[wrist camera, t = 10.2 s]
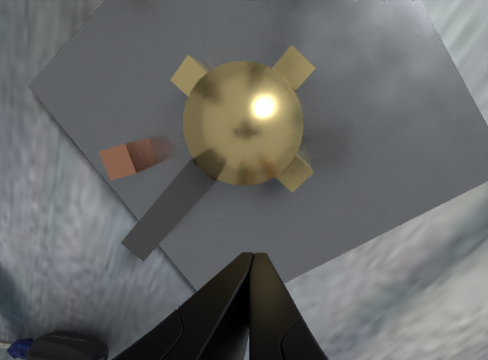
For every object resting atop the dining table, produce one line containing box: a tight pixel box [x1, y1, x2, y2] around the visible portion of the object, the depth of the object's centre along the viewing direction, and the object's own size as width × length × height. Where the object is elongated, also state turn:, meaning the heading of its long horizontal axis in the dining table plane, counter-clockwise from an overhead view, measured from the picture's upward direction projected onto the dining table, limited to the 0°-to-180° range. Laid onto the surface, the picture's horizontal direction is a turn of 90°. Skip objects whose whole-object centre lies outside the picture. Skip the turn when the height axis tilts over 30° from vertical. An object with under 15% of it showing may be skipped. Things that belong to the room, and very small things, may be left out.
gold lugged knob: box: [121, 45, 316, 261], centre depth 17 cm, size 16×10×3 cm, turn 138°
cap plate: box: [29, 0, 488, 291], centre depth 17 cm, size 24×24×4 cm
